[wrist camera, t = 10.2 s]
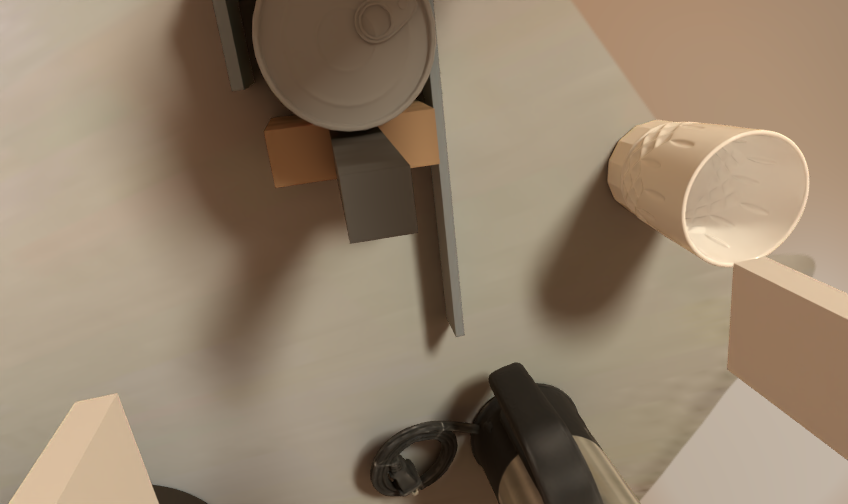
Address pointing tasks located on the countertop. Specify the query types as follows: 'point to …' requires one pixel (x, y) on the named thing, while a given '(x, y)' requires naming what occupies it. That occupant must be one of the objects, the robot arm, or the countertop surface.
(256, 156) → the countertop surface
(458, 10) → the countertop surface
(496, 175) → the countertop surface
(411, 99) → the canned tomato
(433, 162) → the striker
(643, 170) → the white cup
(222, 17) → the frame
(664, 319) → the countertop surface
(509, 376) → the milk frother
